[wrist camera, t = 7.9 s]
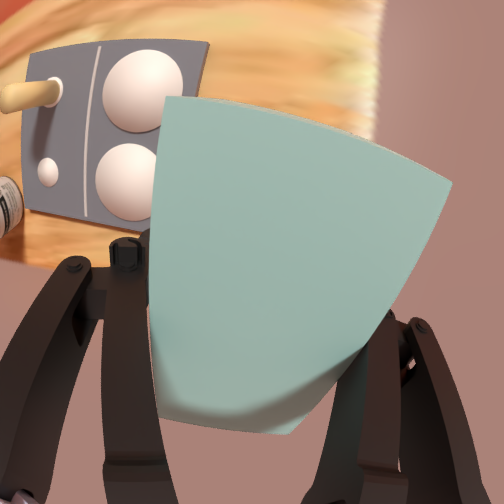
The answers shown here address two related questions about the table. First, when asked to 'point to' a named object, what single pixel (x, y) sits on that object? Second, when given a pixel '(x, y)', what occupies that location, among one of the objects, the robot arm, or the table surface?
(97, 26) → the table surface
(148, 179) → the slate board
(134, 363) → the robot arm
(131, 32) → the table surface
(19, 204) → the spray can
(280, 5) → the table surface
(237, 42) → the table surface
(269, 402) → the pale green block
